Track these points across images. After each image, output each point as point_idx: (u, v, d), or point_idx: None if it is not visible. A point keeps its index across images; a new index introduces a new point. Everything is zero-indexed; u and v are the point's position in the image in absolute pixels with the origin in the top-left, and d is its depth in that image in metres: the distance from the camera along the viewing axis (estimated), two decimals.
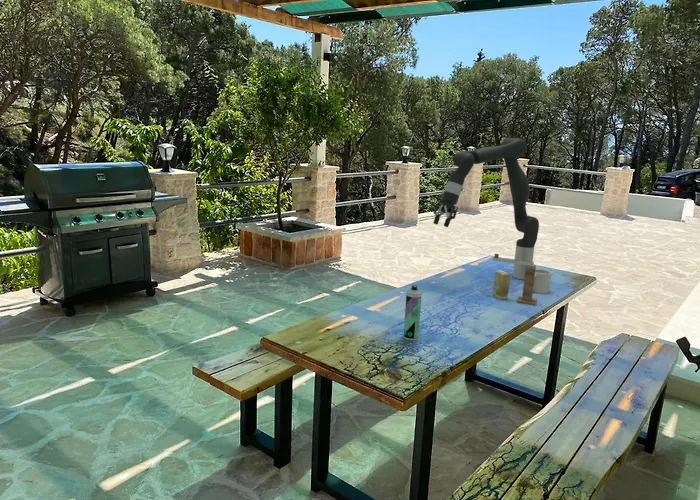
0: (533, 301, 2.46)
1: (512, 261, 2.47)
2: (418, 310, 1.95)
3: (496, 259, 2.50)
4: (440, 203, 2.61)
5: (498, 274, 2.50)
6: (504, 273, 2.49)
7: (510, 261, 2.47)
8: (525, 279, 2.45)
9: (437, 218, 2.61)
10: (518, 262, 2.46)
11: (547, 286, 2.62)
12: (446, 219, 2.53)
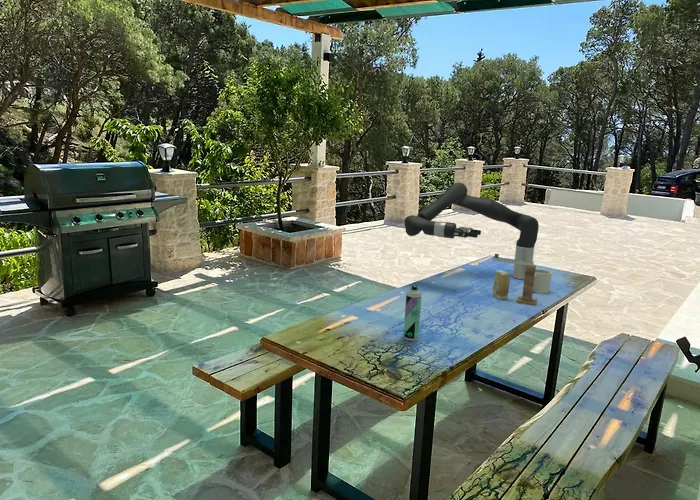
0: (533, 301, 2.46)
1: (512, 261, 2.47)
2: (418, 310, 1.95)
3: (496, 259, 2.50)
4: None
5: (498, 274, 2.50)
6: (504, 273, 2.49)
7: (510, 261, 2.47)
8: (525, 279, 2.45)
9: (474, 232, 2.59)
10: (518, 262, 2.46)
11: (547, 286, 2.62)
12: (470, 236, 2.52)
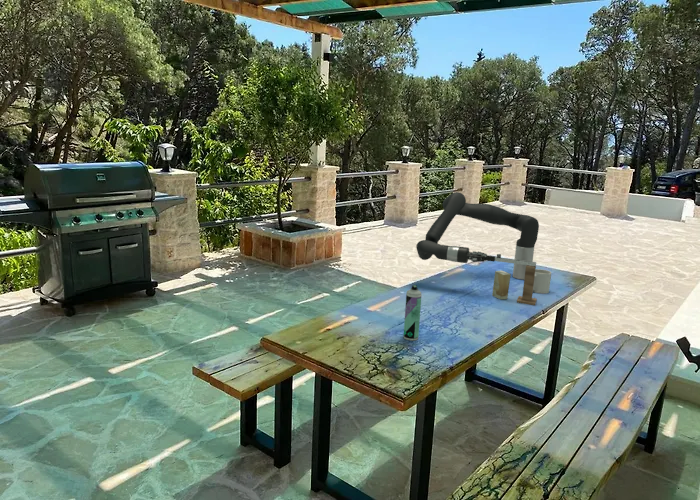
0: (533, 301, 2.46)
1: (514, 261, 2.46)
2: (418, 310, 1.95)
3: (498, 259, 2.49)
4: None
5: (498, 274, 2.50)
6: (504, 273, 2.49)
7: (512, 261, 2.47)
8: (525, 279, 2.45)
9: None
10: (520, 262, 2.46)
11: (547, 286, 2.62)
12: (487, 260, 2.52)
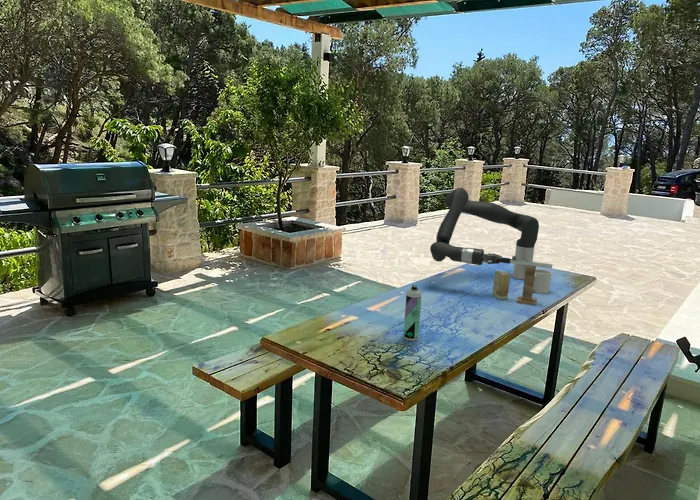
0: (533, 301, 2.46)
1: (530, 263, 2.44)
2: (418, 310, 1.95)
3: (514, 261, 2.47)
4: None
5: (498, 274, 2.50)
6: (504, 273, 2.49)
7: (528, 263, 2.44)
8: (525, 279, 2.45)
9: None
10: (536, 264, 2.43)
11: (547, 286, 2.62)
12: (502, 262, 2.49)
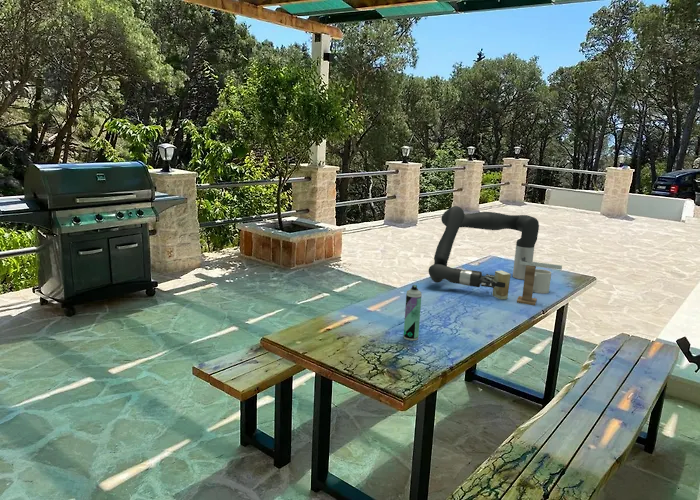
0: (533, 301, 2.46)
1: (540, 265, 2.42)
2: (418, 310, 1.95)
3: (523, 263, 2.45)
4: None
5: (498, 274, 2.50)
6: (504, 273, 2.49)
7: (538, 265, 2.43)
8: (525, 279, 2.45)
9: None
10: (546, 266, 2.41)
11: (547, 286, 2.62)
12: (497, 286, 2.49)
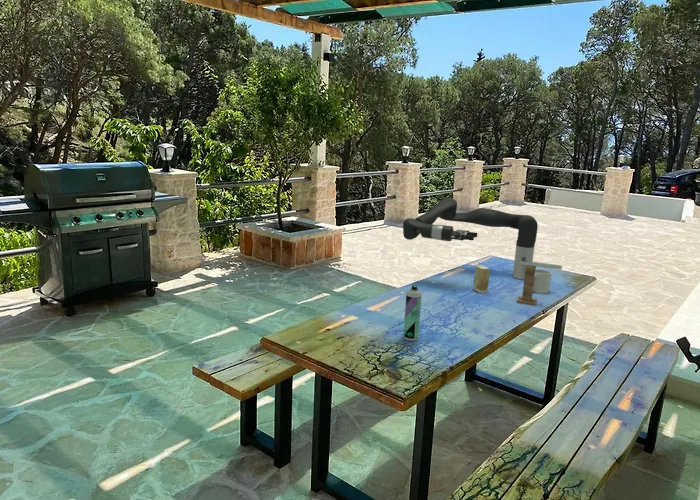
0: (533, 301, 2.46)
1: (540, 265, 2.42)
2: (418, 310, 1.95)
3: (523, 263, 2.45)
4: None
5: (478, 269, 2.58)
6: (484, 268, 2.57)
7: (538, 265, 2.43)
8: (525, 279, 2.45)
9: (471, 234, 2.64)
10: (546, 266, 2.41)
11: (547, 286, 2.62)
12: (466, 239, 2.57)
